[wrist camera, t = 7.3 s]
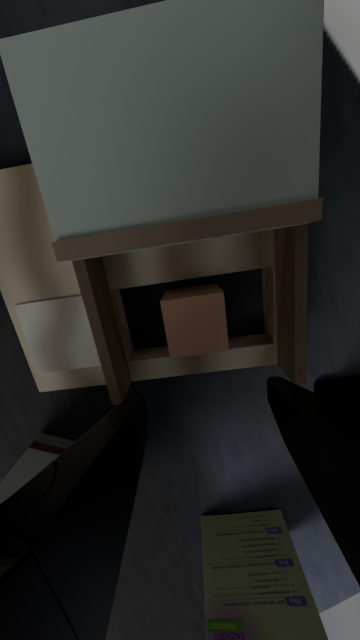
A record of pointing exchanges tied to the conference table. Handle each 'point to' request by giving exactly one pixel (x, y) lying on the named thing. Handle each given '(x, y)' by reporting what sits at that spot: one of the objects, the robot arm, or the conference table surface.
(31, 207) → the cardboard tray
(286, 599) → the box
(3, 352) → the conference table surface
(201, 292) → the block
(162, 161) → the lid
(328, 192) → the conference table surface
